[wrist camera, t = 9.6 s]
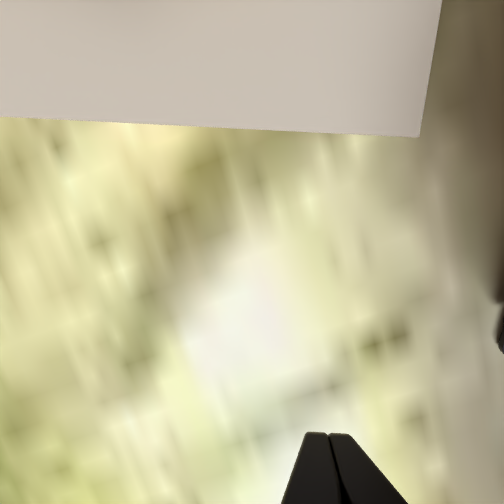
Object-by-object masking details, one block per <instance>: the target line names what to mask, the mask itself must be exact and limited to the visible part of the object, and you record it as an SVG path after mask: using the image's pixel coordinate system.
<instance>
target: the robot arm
mask: <svg viewBox="0 0 504 504" xmlns="http://www.w3.org/2000/svg"><path fill="white" fill-rule="evenodd" d="M503 322H504V318H503ZM499 349H500V351H501V352H502V353H503V354H504V326H503V329H502V333H501V337H500V340H499ZM281 504H408V503H407V502H406V501H405V499H404V498H403V497H402V496H401V495H400V494H399V492H398V491H397V490H396V489H395V488H394V486H393V485H392V484H391V483H390V482H389V480H388V479H387V478H386V477H385V476H384V474H383V473H382V472H381V471H380V470H379V469H378V467H377V466H376V465H375V464H374V463H373V461H372V460H371V459H370V458H369V457H368V455H367V454H366V453H365V452H364V451H363V450H362V448H361V447H360V446H359V445H358V444H357V442H356V441H355V440H354V439H353V438H352V437H351V436H350V435H349V434H341V433H330V434H329V435H327V434H326V433H323V432H307V433H306V434H305V436H304V439H303V442H302V445H301V448H300V450H299V453H298V456H297V459H296V462H295V465H294V468H293V470H292V473H291V476H290V479H289V482H288V485H287V488H286V491H285V493H284V496H283V499H282V502H281Z"/></svg>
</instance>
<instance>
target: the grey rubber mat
mask: <svg viewBox="0 0 504 504" xmlns="http://www.w3.org/2000/svg"><path fill="white" fill-rule="evenodd" d="M441 4H442V0H0V117H20V118H40V119H60V120H80V121H100V122H120V123H139V124H159V125H179V126H199V127H219V128H239V129H259V130H279V131H298V132H318V133H338V134H358V135H378V136H398V137H418V138H419V135H420V129H421V123H422V117H423V111H424V105H425V99H426V93H427V87H428V81H429V75H430V70H431V64H432V58H433V52H434V46H435V40H436V34H437V28H438V22H439V16H440V10H441Z"/></svg>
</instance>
